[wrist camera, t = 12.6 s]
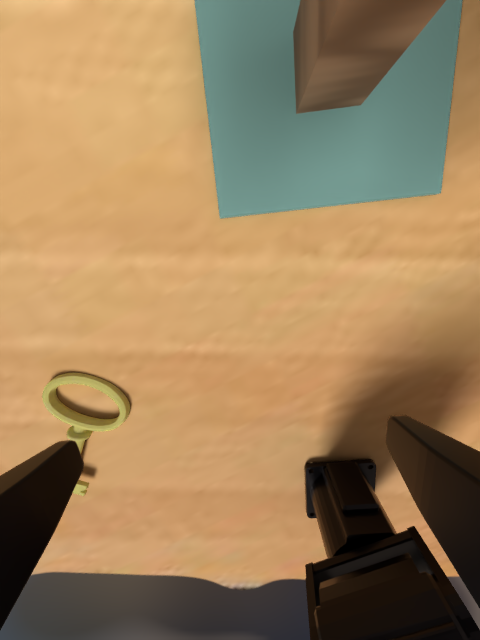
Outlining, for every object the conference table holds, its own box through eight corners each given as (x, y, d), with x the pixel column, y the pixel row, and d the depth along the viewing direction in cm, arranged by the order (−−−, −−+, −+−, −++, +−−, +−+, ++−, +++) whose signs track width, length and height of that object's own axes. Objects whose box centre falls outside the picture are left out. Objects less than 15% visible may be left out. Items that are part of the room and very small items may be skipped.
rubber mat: (436, 194, 17) (441, 193, 16) (220, 218, 18) (219, 217, 17) (470, -122, 13) (477, -134, 12) (186, -76, 13) (184, -86, 13)
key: (69, 478, 25) (54, 499, 23) (48, 368, 22) (28, 381, 20) (140, 481, 25) (131, 502, 23) (130, 372, 22) (118, 384, 20)
